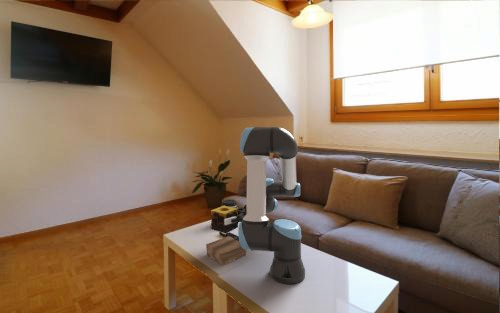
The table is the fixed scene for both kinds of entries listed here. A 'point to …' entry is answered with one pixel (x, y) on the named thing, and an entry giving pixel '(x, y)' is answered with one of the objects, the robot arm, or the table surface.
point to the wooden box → (225, 250)
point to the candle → (220, 215)
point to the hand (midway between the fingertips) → (218, 218)
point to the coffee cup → (229, 203)
